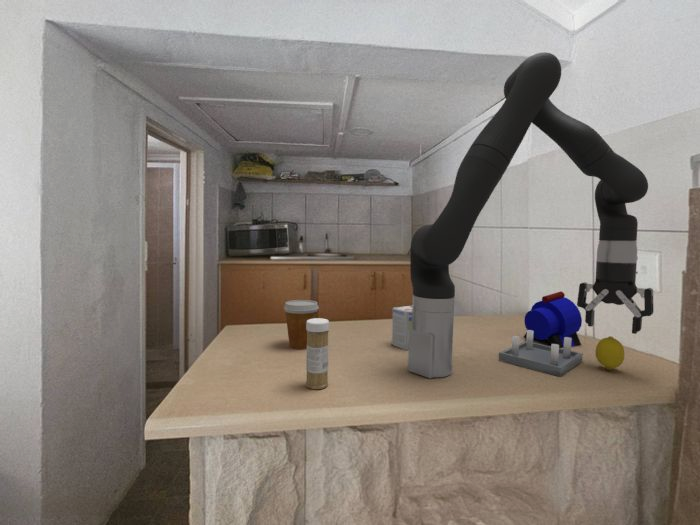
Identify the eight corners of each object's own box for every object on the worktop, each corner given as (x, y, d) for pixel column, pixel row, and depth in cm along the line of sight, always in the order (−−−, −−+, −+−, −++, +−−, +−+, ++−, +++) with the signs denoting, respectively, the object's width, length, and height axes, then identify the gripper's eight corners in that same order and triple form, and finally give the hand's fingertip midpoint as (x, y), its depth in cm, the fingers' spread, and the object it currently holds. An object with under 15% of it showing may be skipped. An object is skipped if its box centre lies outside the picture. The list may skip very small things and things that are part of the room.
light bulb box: (418, 339, 109) (419, 303, 108) (435, 345, 103) (436, 307, 102) (390, 344, 103) (391, 306, 102) (406, 351, 97) (407, 311, 97)
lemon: (610, 375, 83) (613, 340, 82) (588, 366, 88) (591, 333, 87) (629, 373, 84) (631, 339, 83) (606, 364, 89) (608, 332, 89)
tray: (560, 376, 81) (561, 350, 80) (498, 360, 91) (499, 336, 91) (582, 361, 92) (583, 337, 91) (524, 348, 102) (525, 326, 102)
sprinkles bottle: (317, 379, 77) (318, 316, 76) (332, 385, 74) (334, 320, 73) (300, 385, 74) (301, 319, 73) (316, 392, 70) (316, 323, 69)
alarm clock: (583, 345, 106) (586, 294, 105) (552, 349, 101) (555, 296, 100) (546, 334, 117) (549, 288, 116) (517, 337, 113) (520, 289, 112)
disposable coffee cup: (299, 339, 107) (300, 298, 106) (325, 345, 101) (326, 302, 100) (276, 346, 99) (276, 303, 98) (302, 353, 93) (302, 307, 93)
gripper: (576, 259, 87) (572, 326, 88) (653, 263, 76) (648, 338, 78) (585, 258, 92) (581, 321, 93) (658, 261, 82) (653, 332, 83)
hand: (612, 329), depth 85 cm, fingers open, 8 cm apart
